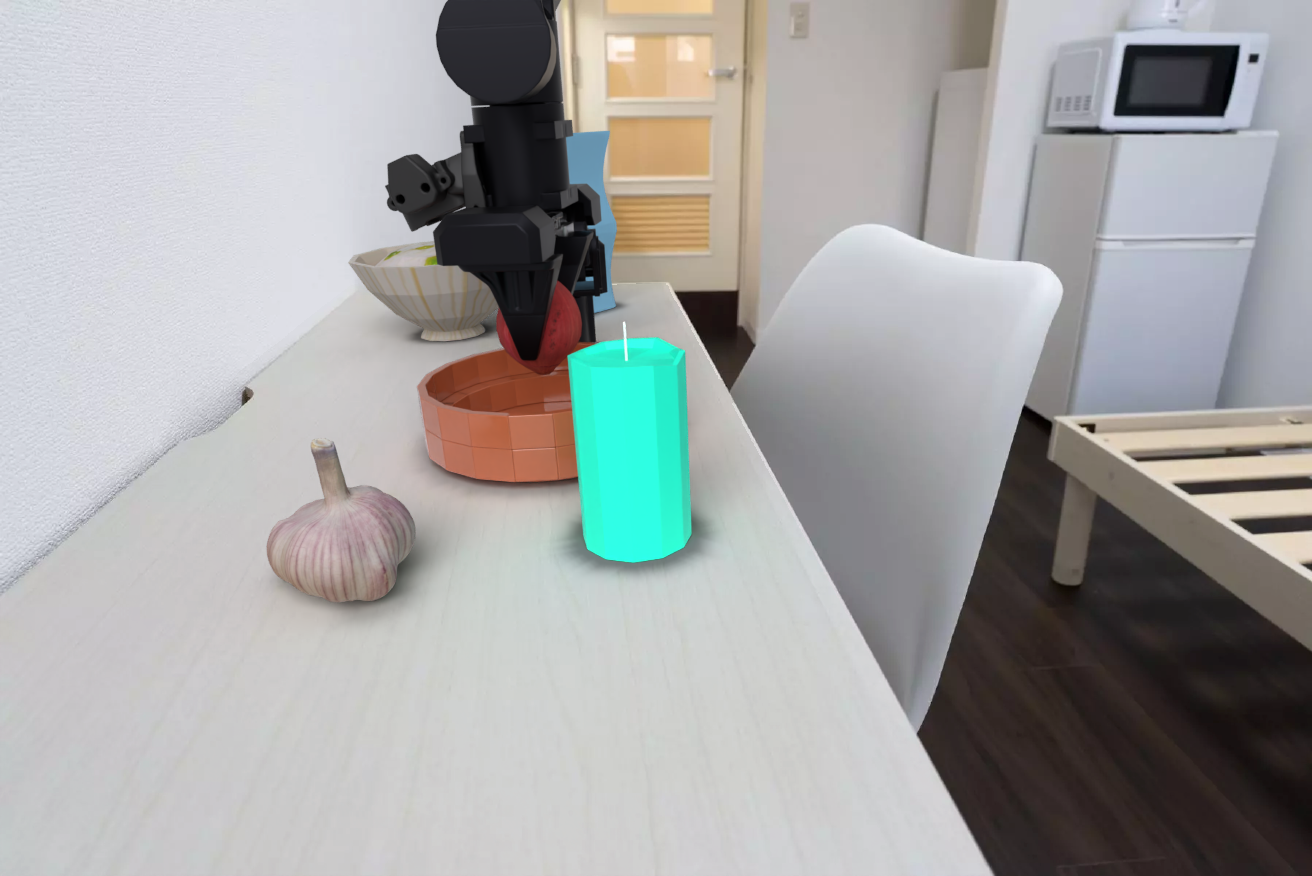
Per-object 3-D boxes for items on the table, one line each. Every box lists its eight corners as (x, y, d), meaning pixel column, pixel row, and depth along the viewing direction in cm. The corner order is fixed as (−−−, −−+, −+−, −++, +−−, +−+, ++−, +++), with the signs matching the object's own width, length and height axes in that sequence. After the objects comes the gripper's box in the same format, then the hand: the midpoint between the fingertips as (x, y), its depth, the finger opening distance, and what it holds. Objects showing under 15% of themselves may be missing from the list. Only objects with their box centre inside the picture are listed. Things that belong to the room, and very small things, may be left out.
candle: (610, 573, 42) (593, 344, 38) (566, 527, 47) (546, 319, 43) (712, 543, 45) (706, 324, 40) (660, 502, 50) (650, 303, 45)
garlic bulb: (406, 616, 39) (378, 461, 36) (248, 630, 39) (206, 474, 36) (432, 540, 46) (410, 405, 44) (298, 552, 46) (266, 415, 43)
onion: (571, 389, 55) (561, 268, 52) (489, 387, 56) (475, 268, 53) (594, 363, 61) (586, 252, 58) (519, 362, 62) (508, 253, 59)
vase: (621, 305, 101) (610, 130, 94) (574, 318, 96) (559, 134, 89) (576, 298, 106) (563, 132, 99) (529, 311, 101) (511, 135, 93)
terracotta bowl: (585, 387, 71) (580, 330, 70) (719, 440, 58) (717, 372, 57) (391, 439, 62) (380, 374, 60) (499, 516, 49) (489, 437, 47)
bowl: (575, 321, 95) (568, 231, 91) (452, 365, 80) (437, 260, 76) (453, 307, 105) (442, 226, 101) (323, 345, 90) (305, 251, 86)
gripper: (447, 110, 62) (474, 317, 67) (322, 113, 45) (372, 390, 50) (595, 102, 60) (609, 315, 66) (524, 103, 43) (552, 390, 49)
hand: (541, 347), depth 58 cm, fingers closed on onion, 6 cm apart
